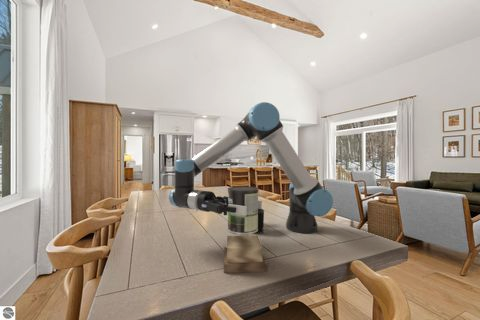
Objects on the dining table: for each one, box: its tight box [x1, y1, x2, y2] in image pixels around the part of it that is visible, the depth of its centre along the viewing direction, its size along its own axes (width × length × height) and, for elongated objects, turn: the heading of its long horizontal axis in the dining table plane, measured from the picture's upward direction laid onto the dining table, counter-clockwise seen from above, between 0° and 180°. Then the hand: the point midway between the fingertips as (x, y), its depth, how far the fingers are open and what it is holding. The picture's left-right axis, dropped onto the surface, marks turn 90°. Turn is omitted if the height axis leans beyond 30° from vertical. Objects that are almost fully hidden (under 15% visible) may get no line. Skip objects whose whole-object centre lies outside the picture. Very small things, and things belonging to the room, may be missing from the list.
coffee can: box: [227, 185, 259, 236], centre depth 73 cm, size 10×10×14 cm
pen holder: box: [253, 208, 265, 235], centre depth 105 cm, size 9×9×10 cm
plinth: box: [223, 234, 267, 274], centre depth 73 cm, size 13×13×7 cm
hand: (254, 207), depth 71 cm, fingers closed on coffee can, 10 cm apart
